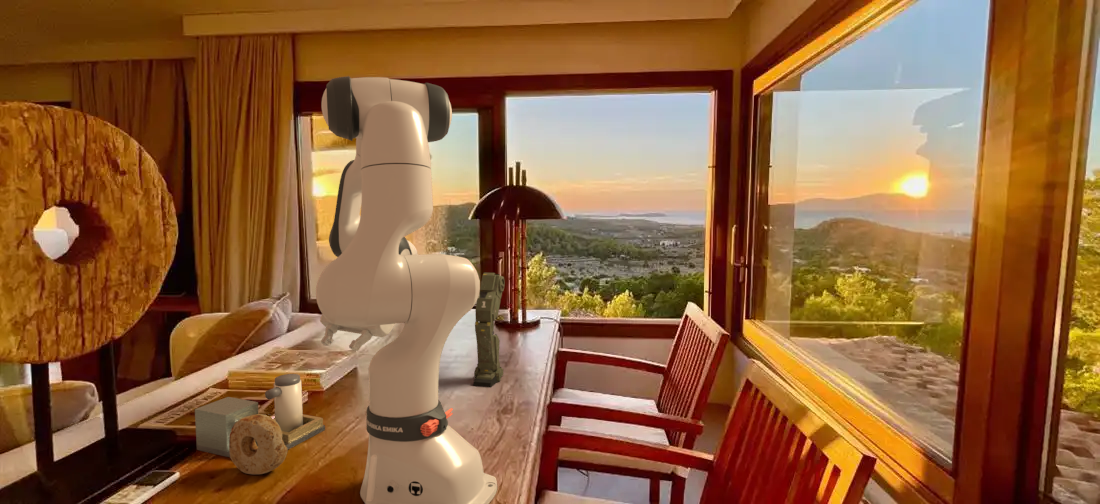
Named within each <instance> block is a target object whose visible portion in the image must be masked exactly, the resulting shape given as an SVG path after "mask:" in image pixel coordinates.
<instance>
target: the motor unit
mask: <svg viewBox="0 0 1100 504" xmlns="http://www.w3.org/2000/svg"><path fill="white" fill-rule="evenodd" d="M256 414H259V402H258V401H253V400H247V399H242V398H237V397H231V396H227V397H224V398H222V399H219V400H218V399H217V400H216V401H213V402H210V403H208V404H205V405H202V406H200V407H196V408H195V409H194V420H195V437H196V440H195V441H196V450H197V451H200V452H205V453H209V454H213V455H218V456H222V457H226V458H230V448H229V441H230V433H231V431H232V430H231V429H232V427H233V426H234V424H235V423H236V422H238V421H239V420H240V419H242V418H244V417H247V416H250V415H256ZM274 420H275V418H274ZM325 430H326V425H325V424H324V418H323V417H320V416H314V415H308V414H303V425H302V426H300V427H298V428H296V429H294V430H292V431H290V432H284V431H282V440H283V441H284V445H285V446H286V447H287V451H288V450H291V449H292V448H294V447H295V446H297V445H299V444H301V443H303V442H305V441H307V440H309V439H310V438H313V437H314V436H316V435H319V434H321V433H322V432H324V431H325ZM255 442H256V440H255ZM256 445H257V446H258V444H257V442H256Z"/></svg>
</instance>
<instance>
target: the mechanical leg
mask: <svg viewBox="0 0 1100 504" xmlns="http://www.w3.org/2000/svg"><path fill="white" fill-rule="evenodd" d="M505 284H506V283H505V277H504V276H503V275H500V274H499V273H495V272H483V274H482V277H481V281H480V292H479V296H478V299H477V301H476V303H475V305H476V306H475V323H474V332H475V337H476V338H475V339H476V352H477V364H476V367H475V369H474V371H473V372H474V373H473V375H474V380H473V384H472V386H473V387H481V388H492V387H494V386H495V385H496V384H497V383H499V382H500V381H502V376H504V368H502V366H501V363H500V359H499V358H500V357H499V356H500V338H499V336H498V334H497V333H495V331H494V328H495V325H494V324H495V323H494V322H496V320H497V319H498V318H499V313H500V311H499V310H500V305H501V301H502V300H501V299H502V295H503V292H504V289H505V286H506V285H505Z"/></svg>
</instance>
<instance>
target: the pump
mask: <svg viewBox="0 0 1100 504" xmlns="http://www.w3.org/2000/svg"><path fill="white" fill-rule="evenodd" d="M302 392H303V389H302V379H301V375H300V374H298V373H286V374H281V375H279V376H276V377H275V378H274V383H273V388H270V389H268V390H266V391H265V392H264V396H265V398H266V400H269V401H270V400H272V399H274V400H273V401H274V416H275V421H276V422H277V423H278V425H279V426H280V428H281V431H284V432H290V431H292V430H294V429H296V428H298V427H300V426H302V425H303V394H302Z"/></svg>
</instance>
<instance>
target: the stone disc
mask: <svg viewBox="0 0 1100 504" xmlns="http://www.w3.org/2000/svg"><path fill="white" fill-rule="evenodd" d="M231 430H232V431H231V433H230V441H229V448H230V457H229V458H230V459H231V462H232V463H233V465H235V467H236V468H237V469H238V470H239V471H240V472H242V473H244V474H248V475H263V474H268V473H270V472H271V471H273V470H275V469H277V468H278V467H280V465H282V464H283V463H284V461H285V460H286V457H287V454H288V450H287V447H286V446H285V445H284V441H283V440H282V431H281V428H280V426H279V425H278V423H277V422H276V421H275V420H274V419H272V418H271V417H269V416H267V415H266V414H261V413H258V414H256V415H250V416H247V417H244V418H242V419H240V420H239V421H238V422H236V423H235V424H234V426H233V427H232V429H231ZM255 440H256V442H257V444H258V446H257V445H256V442H255Z"/></svg>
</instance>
